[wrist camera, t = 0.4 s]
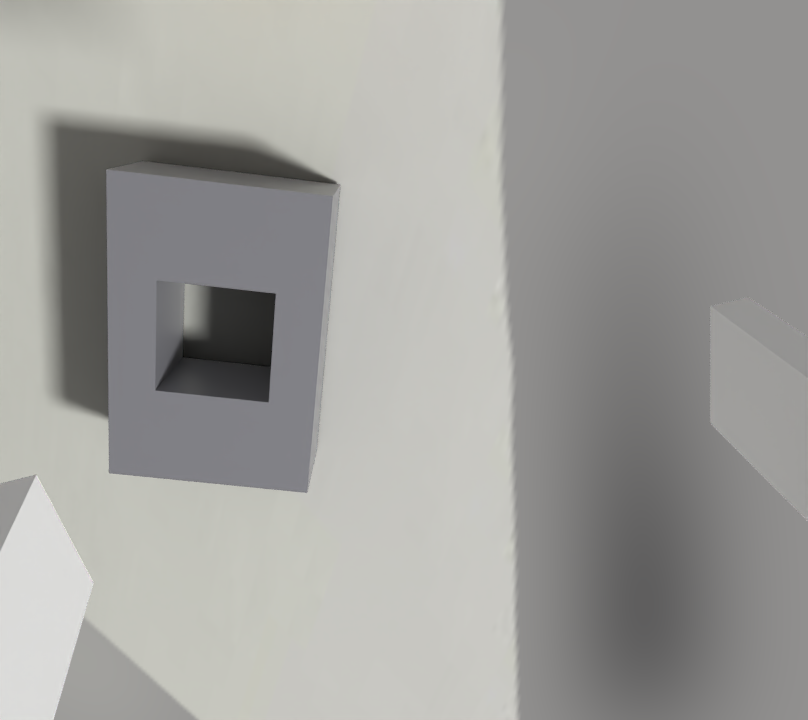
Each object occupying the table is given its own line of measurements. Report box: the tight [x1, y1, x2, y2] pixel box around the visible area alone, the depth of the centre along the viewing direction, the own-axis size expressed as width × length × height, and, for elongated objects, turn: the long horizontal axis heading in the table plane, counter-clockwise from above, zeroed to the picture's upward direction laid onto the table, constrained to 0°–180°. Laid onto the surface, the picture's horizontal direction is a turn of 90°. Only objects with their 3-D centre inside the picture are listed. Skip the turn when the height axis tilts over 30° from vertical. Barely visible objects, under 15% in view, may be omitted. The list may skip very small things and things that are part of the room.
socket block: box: [106, 161, 341, 493], centre depth 38 cm, size 15×10×5 cm, turn 173°
